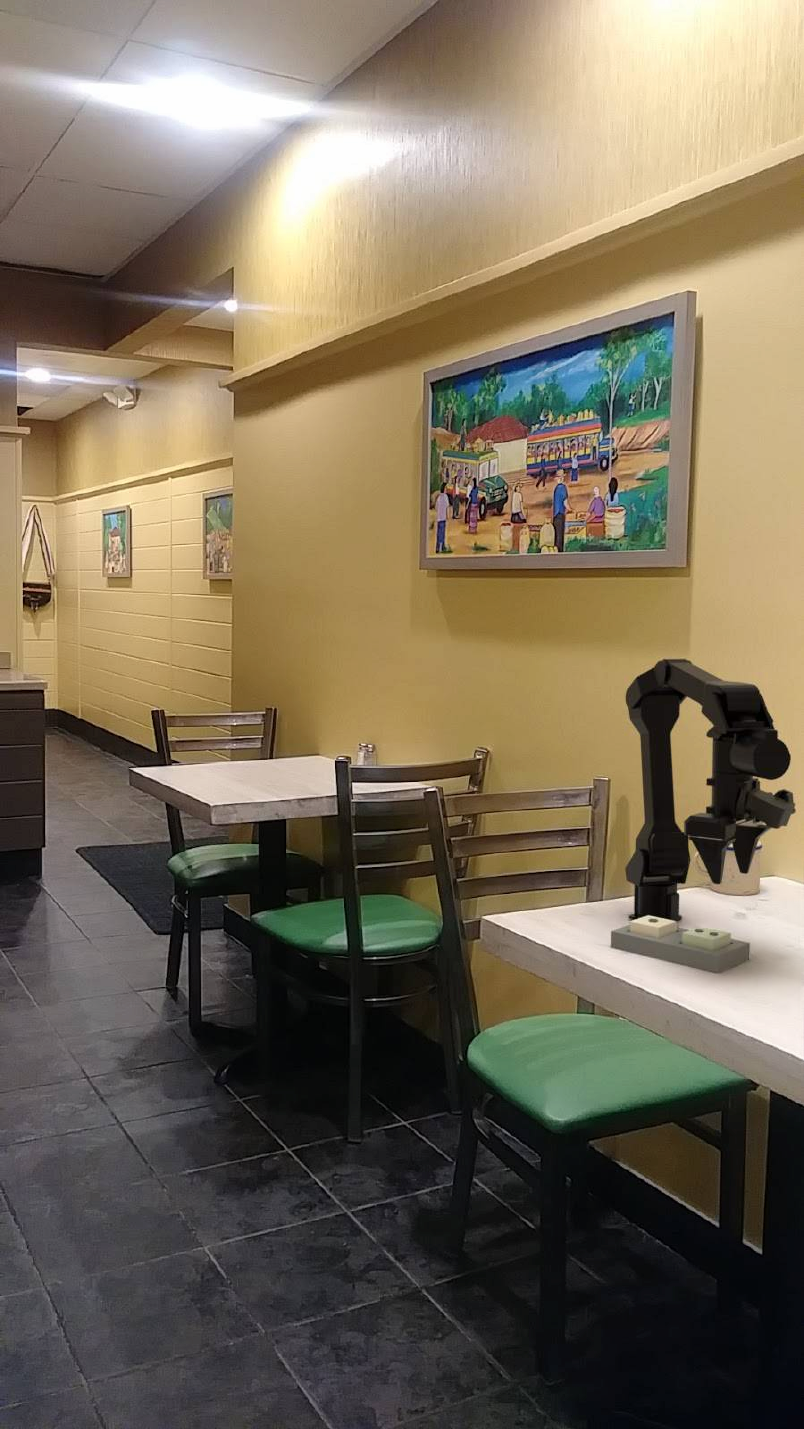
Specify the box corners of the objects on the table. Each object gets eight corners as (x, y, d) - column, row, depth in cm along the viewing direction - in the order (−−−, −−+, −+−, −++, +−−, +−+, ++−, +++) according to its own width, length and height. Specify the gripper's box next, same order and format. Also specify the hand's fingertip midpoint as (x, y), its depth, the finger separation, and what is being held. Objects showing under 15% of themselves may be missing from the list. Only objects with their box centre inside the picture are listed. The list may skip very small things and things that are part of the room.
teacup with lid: (760, 886, 215) (761, 824, 214) (761, 897, 206) (763, 833, 205) (693, 882, 218) (694, 820, 217) (692, 893, 209) (693, 829, 208)
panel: (610, 947, 176) (611, 931, 175) (643, 935, 182) (644, 919, 182) (717, 973, 163) (718, 955, 163) (749, 959, 169) (749, 942, 169)
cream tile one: (629, 934, 176) (629, 920, 175) (647, 927, 179) (648, 913, 179) (658, 940, 172) (658, 926, 172) (676, 934, 176) (676, 919, 175)
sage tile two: (681, 946, 169) (682, 931, 169) (699, 939, 173) (700, 925, 173) (712, 953, 166) (713, 938, 166) (730, 946, 169) (730, 931, 169)
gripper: (759, 782, 154) (757, 898, 156) (812, 769, 169) (810, 875, 170) (683, 776, 162) (681, 886, 163) (739, 764, 176) (737, 865, 177)
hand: (730, 878), depth 168 cm, fingers open, 9 cm apart
